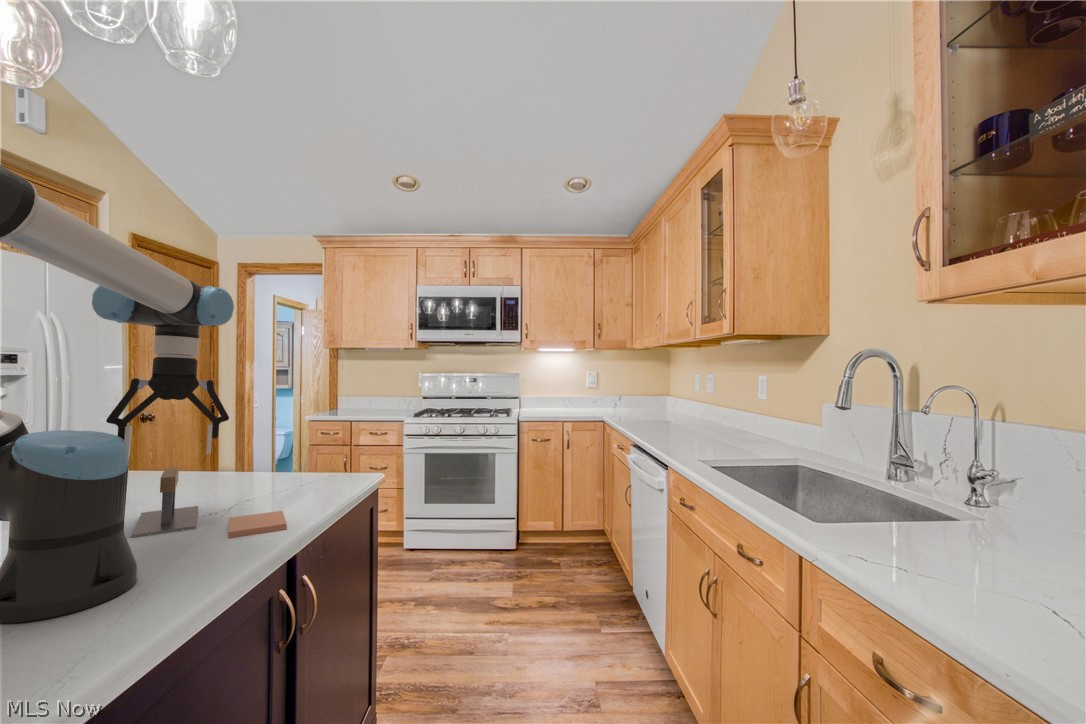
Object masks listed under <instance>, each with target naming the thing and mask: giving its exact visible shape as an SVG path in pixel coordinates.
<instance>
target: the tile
mask: <svg viewBox="0 0 1086 724" xmlns="http://www.w3.org/2000/svg"><path fill="white" fill-rule="evenodd" d="M287 527H288V526H287V521H286V518H285V514H284V511H283V510H277V511H276V510H275V511H271V512H262V513H255V514H254V513H253V514H246V515H241V516H240V515H239V516H231V517H228V533H227V535H228V536H227V538H228V539H234V538H239V537H248V536H253V535H260V534H265V533H274V532H280V531H286V530H287Z"/></svg>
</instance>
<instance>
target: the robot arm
mask: <svg viewBox="0 0 1086 724" xmlns="http://www.w3.org/2000/svg"><path fill="white" fill-rule="evenodd" d="M0 243H1V244H4V245H6V246H8V247H11V248H13V249H15V250H18V251H20V252H22V253H24V254H27V255H28V256H32V257H33V258H36V259H38V260H40V261H42V262H45V263H48V264H50V265H52V266H55V267H57V268H59V269H61V270H63V271H66V272H68V273H70V274H73V275H74V276H75V275H76V276H77V277H80V278H82V279H84V280H87V281H89V282H91V283H94V284H96V285H98V286H97V287H96V288H95V290H93V293H92V299H91V305H92V309H93V311H94V312H95V313H96V315H97V316H99V317H100V318H101V319H104V320H108V321H113V322H116V323H118V324H121V323H125V324H133V325H141V326H149V327H155V328H154V339H153V341H154V343H153V354H154V355H156V357H154V358H153V359H152V371H151V373H152V374H151V378H150V379H141V378H138V377H137V378H136V377H135V378H132V379H131V381H130V384H129V389H127V392H126V393H125V394H124V395H123V397H122V398H121V400H120V401H119V402H118V403H117V405H116V406H115V407H114V409H113V410H112V411H111V413H110V414H109V416H108V417H107V418H106V421H105V422H106V423H107V424H113V425H115V426H117V435H116V434H112V433H109V432H101V431H94V430H93V431H92V430H71V429H65V430H62V429H59V430H45V431H43V430H42V431H37V432H31V433H30V432H29V431H28V429H27V427H26V425H25V423H24V421H23V419H22V417H21V416H20V415H18V414H15V413H10V412H7V411H2V410H1V409H0V521H1V522H9V525H8V526H9V528H8V545H7V553H6V556H5V558H4V560H3V561H2V564H1V566H0V621H1V622H0V623H11V624H12V623H22V622H25V623H26V622H32V621H39V620H45V619H51V618H56V617H58V616H63V615H68V614H71V613H75V612H78V611H79V612H80V611H82V610H85V609H88V608H91V607H93V606H96V605H99V604H100V605H101V604H102V603H104V602H107V601H109V600H111V599H114V598H115V597H116V598H117V596H118V597H119V595H121V594H124V593H125V592H126V591H128V590H129V589H131V588H132V587H133V586H134V585H135V584H136V582H137V578H138V577H137V576H138V575H137V574H138V563H137V561H136V559H135V556H134V553H133V551H132V549H131V547H130V545H129V544H130V543H129V542H128V540H127V537H126V534H125V517H126V504H127V501H126V500H127V491H128V490H127V489H128V488H127V487H128V480H129V479H128V477H129V476H128V475H129V468H130V460H129V458H130V457H131V452H132V451H131V450H132V439H133V437H132V436H133V424H130V425H128V424H129V423H130V422H131V421H132V420H134V419H136V417H137V416H139V415H140V414H141V413H142V412H144V410H146V409H147V408H148V407H149V406H150V405H152V404H153V403H154V402H155V401H156V400H158V399H161V400H163V401H168V400H169V401H170V400H177V401H183V400H186V399H188V400H189V401H190V402H191V403H192V404H193V405H194V406H195V407H196V408H197V409H198V410H199V411H200V412H201V413H202V414H203V415H204V416H206V418H207V419H208V420H209V421H210V422H212V423H208V425H207V437H206V438H207V441H206V455H212V441H213V439H217V438H218V437H219V433H220V432H219V430H220V424H221V423H223V422H224V423H225V422H227V421H229V420H230V416H229V415H228V412H227V411H226V409H225V407H224V405H223V404H222V402H221V400H220V398H219V396H218V394H217V393H216V391H215V386H214V383H215V382H214V381H213V380H212V379H208V380H201V381H199V380H198V378H197V377H198V360H197V358H196V357H198V356H199V347H200V328H201V327H209V326H222V325H226V324H227V323H228V322H229V321H230V320H231V319H232V317H233V314H234V310H235V305H234V300H233V297H232V295H230V293H229V292H228V291H227V290H226V289H225V288H222V287H216V286H211V285H206V286H203V285H201V284H200V285H199V284H197V283H195V282H194V281H192V280H190V279H188V278H187V277H185V276H183V275H181V274H179V273H178V272H176V271H174V270H172V269H170V268H169V267H167V266H165V265H163V264H161V263H160V262H158V261H157V260H154V259H152V258H151V257H150V256H148V255H145V254H143V253H141V252H140V251H138V250H136V249H135V248H133V247H131V246H129V245H127V244H126V243H124V242H122V241H120V240H118V239H117V238H115V237H113V236H111V235H109V234H108V233H106V232H104V231H102V230H101V229H99V228H97V227H96V226H94V225H91V224H90V223H88V222H86V221H84V220H83V219H82V218H80V217H77V216H76V215H74V214H73V213H70V212H68V211H66V210H64V209H63V208H62V207H59V206H57V205H55V204H54V203H53V202H51V201H49V200H47V199H45V198H43V197H42V196H40V195H38V191H37V189H36V186H35V185H34V184H33V183H32V182H31V181H29V180H27V179H26V178H24V177H22V176H21V175H19V174H17V173H16V172H13V171H12V170H11V169H9V168H7V167H5V166H3V165H2V164H0ZM200 326H201V327H200ZM146 386H148V387H149V388H150V389H151V390H152V391H153V392H152V393H151V394H150V395H149V396H148V397H147V398H146V399H144V400H143V401H142V402H140V404H139V405H136V407H135V408H134V409H132V410H131V411H130V412H128V413H127V414H126V415H125V416H124V417H123V418H120V416H121V415H122V413H123V412H124V411H125V410H126V408H127V407H128V405H129V403H130V402H131V401H132V400H133V398H134V397H135V396H136V395H137V393H138V391H139V390H142V389H144V387H146ZM198 387H201V388H202V389H203V390H204V391H207V393H208V395H209V397H210V400H211V401H212V403H213V405H214V406H215V409H217V412H218V414H219V415H220V416H218V417H217V416H216V414H215V413H213V411H212V410H211V409H210V408H208V407H207V405H205V404H204V403H203V401H202V400H201V399H200V398H199V397H197V395H196V394H195V393H194V391H195V390H196V389H198Z"/></svg>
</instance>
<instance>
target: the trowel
mask: <svg viewBox="0 0 1086 724" xmlns="http://www.w3.org/2000/svg"><path fill="white" fill-rule="evenodd" d="M179 468H180V467H179V466H177V467H168V468H167V467H166V468H164V469H163V472H162V475H161V476H160V483H159V493H161V494H162V496H161V497H162V498H161V499H162V500H161V509H160V510H152V511H145V512H140V513H141V514H140V516H139V518H138V520H137V521H136V523H135V526H134V528H133V530H132V532H131V534H130V538H131V539H135V538H140V537H141V536H142V537H148V535H149V536H154V535H155V536H156V535H161V534H162V533H163V534H169V532H170V533H176V532H175V531H177V532H182V530H184V531H189V529H191V530H196V529H197V522H198V511H199V505H195V506H194V505H193V506H187V507H177V508H175V506H176V489H177V486H178V482H179V473H180V469H179ZM142 537H141V538H142Z"/></svg>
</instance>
